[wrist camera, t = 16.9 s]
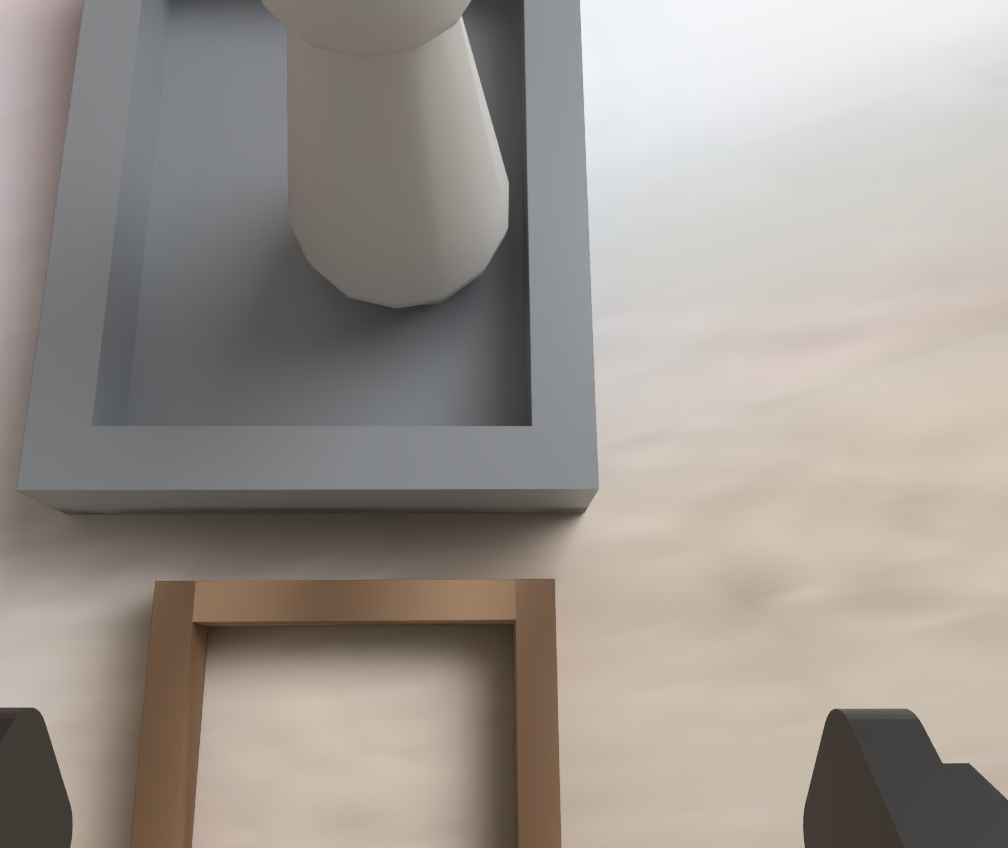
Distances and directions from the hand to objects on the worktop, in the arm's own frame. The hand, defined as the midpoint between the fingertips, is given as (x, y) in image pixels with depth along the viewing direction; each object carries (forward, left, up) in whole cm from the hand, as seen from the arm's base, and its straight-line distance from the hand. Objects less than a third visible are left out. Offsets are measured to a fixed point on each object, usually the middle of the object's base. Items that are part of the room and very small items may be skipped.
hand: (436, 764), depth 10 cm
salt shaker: (+2, -13, -15) cm, 20 cm away
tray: (+4, -15, -15) cm, 21 cm away
